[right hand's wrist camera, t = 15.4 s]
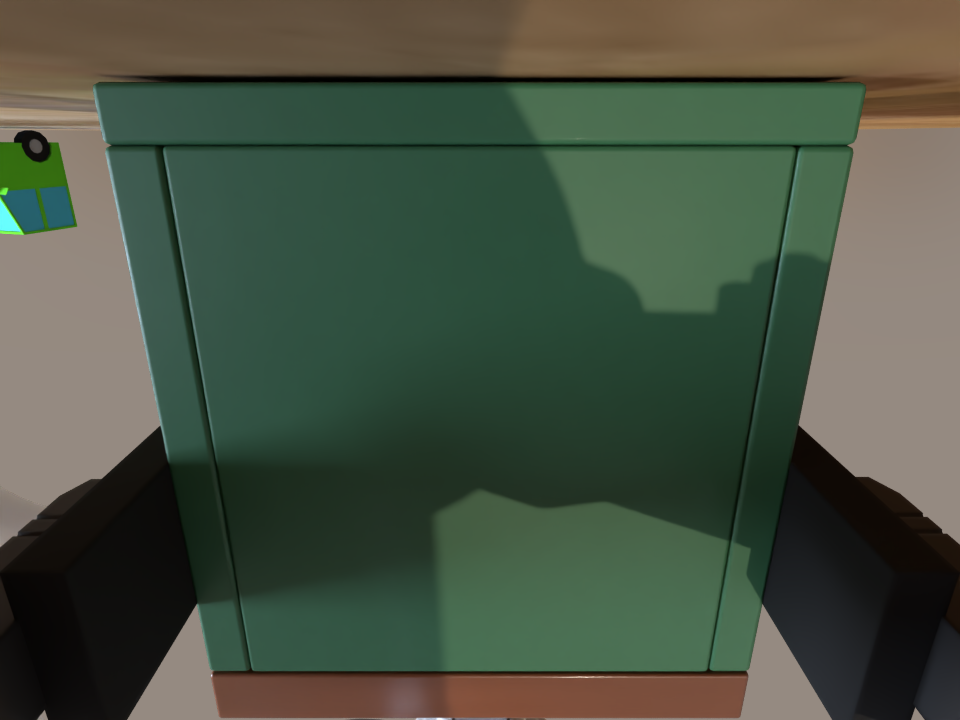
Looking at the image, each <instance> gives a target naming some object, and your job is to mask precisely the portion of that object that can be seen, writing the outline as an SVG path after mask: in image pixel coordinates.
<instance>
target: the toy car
mask: <svg viewBox="0 0 960 720" xmlns="http://www.w3.org/2000/svg"><path fill="white" fill-rule="evenodd" d="M72 227H77V223H76V219H75V214H74V210H73V205H72V201H71V197H70V192H69V188H68V183H67V179H66V174H65V170H64V166H63V161H62V157H61V152H60V148H59V143H51V142H47V139H46V138H45V137H44V136H43V135H42V134H41V133H39V132H36V131H32V130H25V131H22V132H18V133H17V135H16V136H15V138H14V142H0V233H4V234H21V235H26V234H32V233H39V232H45V231H52V230H59V229H65V228H72Z"/></svg>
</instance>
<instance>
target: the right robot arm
mask: <svg viewBox="0 0 960 720" xmlns="http://www.w3.org/2000/svg"><path fill="white" fill-rule="evenodd" d="M196 604H197V602H196V597H195V592H194V587H193V582H192V577H191V572H190V567H189V563H188V558H187V553H186V548H185V543H184V538H183V533H182V528H181V523H180V518H179V513H178V508H177V503H176V498H175V493H174V489H173V484H172V479H171V474H170V469H169V464H168V459H167V454H166V449H165V444H164V439H163V434H162V429H161V425H160V426H159V427H158V428H157V429H156V430H155V431H154V432H153V433H152V434H151V435H149V436H148V437H147V438H146V439H145V440H144V441H143V442H142V443H141V444H140V445H139V446H138V447H136V448H135V449H134V450H133V451H132V452H131V453H130V454H129V455H128V456H126V457H125V458H124V459H123V460H122V461H121V462H120V463H119V464H118V465H117V466H115V467H114V468H113V469H112V470H111V471H110V472H109V473H108V474H107V475H106V476H105V477H103V478H102V479H91V480H89V481H87V482H85V483H83V484H81V485H79V486H77V487H76V488H74V489H72V490H70V491H68V492H66V493H64V494H62V495H60V496H59V497H58V498H57V499H56V500H54V501H53V502H52V503H51V504H50V505H49V506H47V507H46V508H45V509H44V510H43V511H42V512H40V513H39V514H38V515H37V519H32V520H31V521H30V522H29V523H28V524H27V525H25V526H24V527H23V528H22V529H21V530H20V531H18V535H17V536H13V537H11V538H10V539H9V540H8V541H7V542H6V543H4V544H3V545H2V546H1V547H0V720H37V719H38V718H39V716H40V715H41V714H42V713H43V711H44V710H45V712H46V715H47V718H48V720H127V719H128V717H129V716H130V714H131V712H132V710H133V709H134V707H135V706H136V704H137V702H138V701H139V699H140V697H141V696H142V694H143V692H144V691H145V689H146V687H147V686H148V684H149V682H150V681H151V679H152V677H153V676H154V674H155V672H156V671H157V669H158V667H159V666H160V664H161V662H162V661H163V659H164V657H165V656H166V654H167V652H168V651H169V649H170V647H171V646H172V644H173V642H174V641H175V639H176V637H177V636H178V634H179V633H180V631H181V629H182V628H183V626H184V624H185V623H186V621H187V619H188V618H189V616H190V614H191V613H192V611H193V609H194V608H195V606H196ZM762 604H763V605H764V607H765V609H766V610H767V612H768V614H769V615H770V617H771V619H772V620H773V622H774V624H775V625H776V627H777V629H778V630H779V632H780V634H781V635H782V637H783V639H784V640H785V642H786V644H787V645H788V647H789V648H790V650H791V652H792V654H793V655H794V657H795V659H796V660H797V662H798V664H799V665H800V667H801V668H802V670H803V672H804V673H805V675H806V677H807V678H808V680H809V682H810V683H811V685H812V687H813V688H814V690H815V692H816V693H817V695H818V697H819V698H820V700H821V702H822V703H823V705H824V707H825V708H826V710H827V712H828V713H829V715H830V717H831V718H832V720H911V718H912V715H913V712H914V709H915V707H916V709H917V710H918V711H919V713H920V714H921V715H922V717H923V718H924V719H925V720H960V544H958V543H957V542H956V541H955V540H954V539H953V538H951V537H950V536H949V535H948V534H943V533H942V529H941V528H940V527H938V526H937V525H936V524H935V523H934V522H933V521H931V520H930V519H929V518H928V517H923V513H922V512H921V511H920V510H919V509H917V508H916V507H915V506H914V505H913V504H912V503H910V502H909V501H908V500H907V499H906V498H905V497H903V496H902V495H901V494H900V493H898V492H896V491H894V490H892V489H890V488H888V487H887V486H885V485H883V484H881V483H879V482H877V481H875V480H873V479H871V478H869V477H855V476H854V475H853V474H851V473H850V472H849V471H848V470H847V469H846V468H845V467H844V466H843V465H842V464H840V463H839V462H838V461H837V460H836V459H835V458H834V457H833V456H832V455H831V454H829V453H828V452H827V451H826V450H825V449H824V448H823V447H822V446H821V445H820V444H819V443H817V442H816V441H815V440H814V439H813V438H812V437H811V436H810V435H809V434H808V433H807V432H805V431H804V430H803V429H802V428H801V427H800V426H799V425H798V429H797V434H796V439H795V444H794V449H793V454H792V459H791V464H790V469H789V474H788V479H787V484H786V489H785V494H784V499H783V504H782V509H781V514H780V518H779V523H778V528H777V533H776V538H775V543H774V548H773V553H772V558H771V563H770V568H769V573H768V578H767V583H766V588H765V593H764V598H763V603H762Z"/></svg>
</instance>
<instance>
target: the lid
mask: <svg viewBox="0 0 960 720" xmlns="http://www.w3.org/2000/svg"><path fill="white" fill-rule="evenodd" d="M211 679H212V684H213V689H214V694H215V698H216V704H217V709H218V714H219V717H221V718H739V717H740V715H741V710H742V705H743V701H744V695H745V691H746V686H747V681H748V673H747V671H712V670H710V669H709V668H708V669H707V670H706V671H254V670H252V668H250V669H249V670H247V671H213V672H212V674H211Z"/></svg>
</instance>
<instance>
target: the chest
mask: <svg viewBox="0 0 960 720" xmlns="http://www.w3.org/2000/svg"><path fill="white" fill-rule="evenodd" d="M93 93H94V98H95V103H96V108H97V113H98V118H99V122H100V127H101V132H102V137H103V139H104V141H105V142H106V143H108V144H110V145H111V146H109V147H107V148H106V152H105V153H106V158H107V163H108V168H109V173H110V178H111V183H112V187H113V192H114V197H115V202H116V207H117V212H118V217H119V222H120V227H121V232H122V237H123V242H124V247H125V252H126V257H127V262H128V266H129V271H130V276H131V281H132V286H133V291H134V296H135V301H136V306H137V311H138V316H139V321H140V326H141V331H142V336H143V340H144V345H145V350H146V355H147V360H148V365H149V370H150V375H151V380H152V385H153V390H154V395H155V399H156V404H157V409H158V414H159V419H160V424H161V429H162V434H163V439H164V444H165V449H166V454H167V459H168V464H169V469H170V474H171V479H172V484H173V489H174V493H175V498H176V503H177V508H178V513H179V518H180V523H181V528H182V533H183V538H184V543H185V548H186V553H187V558H188V563H189V567H190V572H191V577H192V582H193V587H194V592H195V597H196V602H197V607H198V612H199V617H200V622H201V627H202V632H203V636H204V641H205V646H206V651H207V656H208V661H209V666H210V669H211V670H213V671H247V670H249V669H250V668H252V670H254V671H706V670H707V669H708V668H709V669H710V670H712V671H746V670H748V669H749V667H750V662H751V657H752V652H753V647H754V642H755V637H756V632H757V627H758V622H759V617H760V613H761V607H762V603H763V598H764V593H765V588H766V583H767V578H768V573H769V568H770V563H771V558H772V553H773V548H774V543H775V538H776V533H777V528H778V523H779V518H780V514H781V509H782V504H783V499H784V494H785V489H786V484H787V479H788V474H789V469H790V464H791V459H792V454H793V449H794V444H795V439H796V434H797V429H798V424H799V419H800V414H801V409H802V405H803V400H804V395H805V390H806V385H807V380H808V375H809V370H810V365H811V360H812V355H813V350H814V345H815V340H816V335H817V330H818V325H819V320H820V316H821V311H822V306H823V301H824V296H825V291H826V286H827V281H828V276H829V271H830V266H831V261H832V256H833V251H834V246H835V241H836V236H837V231H838V226H839V221H840V217H841V212H842V207H843V202H844V197H845V192H846V187H847V182H848V177H849V172H850V167H851V162H852V157H853V149H852V148H851V147H849V146H847V145H849V144H851V143H853V142H854V141H855V139H856V137H857V132H858V127H859V122H860V118H861V113H862V108H863V103H864V98H865V93H866V85H864V84H862V83H860V82H99V83H97V84H95V85H93Z"/></svg>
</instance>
